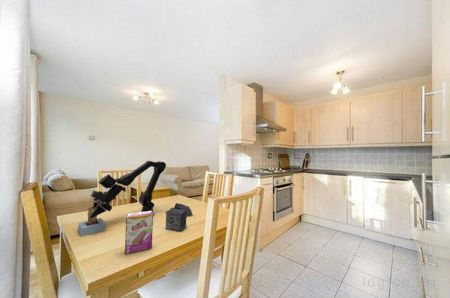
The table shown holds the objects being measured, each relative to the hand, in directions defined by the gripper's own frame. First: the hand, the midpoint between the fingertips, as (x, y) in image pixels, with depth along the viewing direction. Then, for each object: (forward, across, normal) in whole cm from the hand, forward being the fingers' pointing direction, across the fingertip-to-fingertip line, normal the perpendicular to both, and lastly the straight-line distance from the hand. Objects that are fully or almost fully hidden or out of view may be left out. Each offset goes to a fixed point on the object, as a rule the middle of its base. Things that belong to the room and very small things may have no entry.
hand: (89, 216), depth 97 cm
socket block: (+5, 0, +7) cm, 8 cm away
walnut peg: (+5, 0, +7) cm, 8 cm away
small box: (-19, +32, +31) cm, 48 cm away
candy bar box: (-2, +38, +14) cm, 41 cm away
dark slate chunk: (-31, +11, +44) cm, 55 cm away
